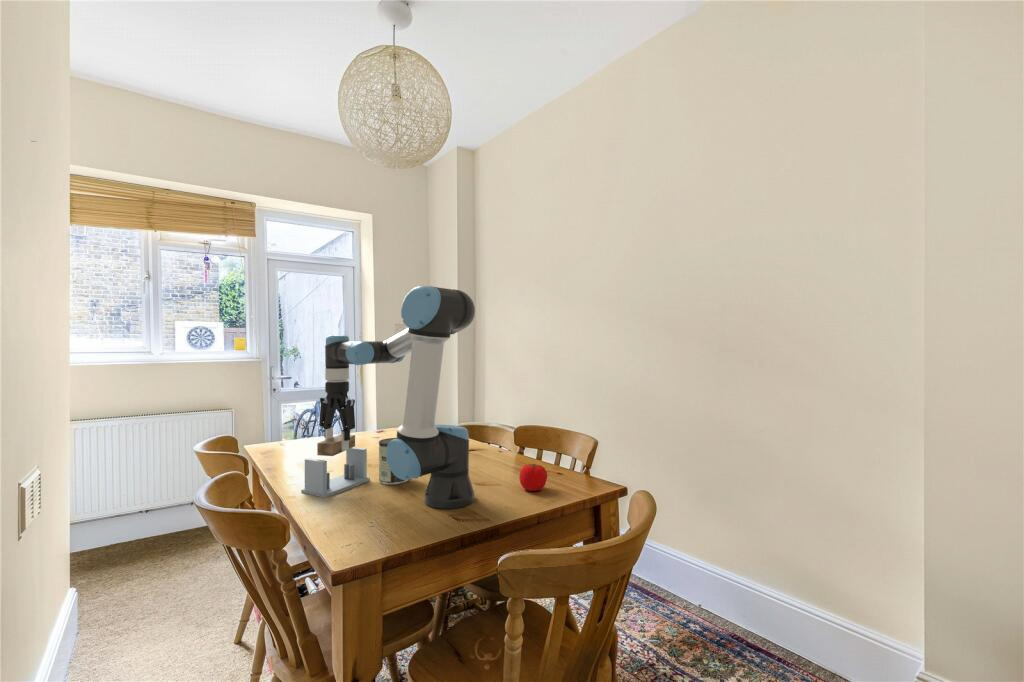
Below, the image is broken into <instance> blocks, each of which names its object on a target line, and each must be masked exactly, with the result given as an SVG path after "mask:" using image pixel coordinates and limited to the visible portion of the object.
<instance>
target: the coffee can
mask: <svg viewBox="0 0 1024 682" xmlns="http://www.w3.org/2000/svg"><path fill="white" fill-rule="evenodd" d="M393 439H396V437H389V438H384V439H381V440H379V441H378V448H379V449H378V450H379V451H378V454H379V455H378V463H379V464H378V466H379V468H378V469H379V470H378V471H379V474H378V478H379V479H378V482H379V483H380V484H381V485H387V486H388V485H389V486H390V485H391V486H392V485H393V486H395V485H401V484H404V483H406V482H408V481H409V480H402V479H399V478H398V477H396V476H395V475H394V474H393V473H392V471H391V469H390V467H389V466H388V463H387V459H386V448H387V445H388V443H390V441H392V440H393Z"/></svg>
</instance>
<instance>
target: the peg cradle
mask: <svg viewBox="0 0 1024 682" xmlns="http://www.w3.org/2000/svg"><path fill="white" fill-rule="evenodd" d="M345 454H346V455H345V456H346V457H345V459H346V462H345V463H344V465H343V473H344V474H342V475H339V476H337V477H333V478H331V479H330V472H328V469H327V468H328V461H327V460H324V459H317V458H312V457H311V458H310V457H308V458H305V459H304V488H302V489H300V490H301V491H300V493H301V494H307V495H311V496H317V497H322V498H329V497H332V496H333V495H336V494H339V493H341V492H344V491H347V490H349V489H352V488H354V487H357V486H360V485H361V484H362V485H363V484H364V483H367V482H369V481H371V477H370V476H369V477H368V475H367V474H368V470H367V469H368V466H367V463H368V449H367V448H363V447H356V446H355V447H352V448H350V449H348V450H346V451H345Z"/></svg>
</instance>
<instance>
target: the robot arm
mask: <svg viewBox="0 0 1024 682" xmlns="http://www.w3.org/2000/svg"><path fill="white" fill-rule="evenodd" d="M475 314H476V306H475V303H474V301H473V299H472V298H471V296H470V295H468V294H467V293H466V292H465V291H463V290H459V289H451V288H447V287H446V288H445V287H438V286H432V285H430V286H428V285H420V286H416V287H413V288H412V289H411V290H410V291H409V292H407V293H406V295H405V296H404V299H403V301H402V303H401V308H400V315H401V316H400V317H401V319H402V322H403V324H404V325H405V326H406V327H407V328H405V329H404V330H401V331H400V332H398V333H396V334H395V335H393V336H391V337H389V338H387V339H385V340H382V341H381V340H380V341H378V340H377V341H375V340H374V341H373V340H372V341H368V340H367V341H363V340H360V341H359V340H352V341H351V340H350V338H349V336H348V335H342V334H341V335H339V334H338V335H335V334H334V335H331V334H330V335H327V336H326V337H325V346H324V350H325V351H324V352H325V353H324V354H325V356H324V358H325V359H324V360H325V365H324V366H325V369H324V370H325V371H324V372H325V374H324V378H325V379H324V380H325V383H324V384H325V385H324V387H325V388H324V390H325V393H326V396H325V397H320V398H319V403H320V410H319V412H320V413H319V421H318V422H319V424H318V425H319V427H322V428H323V430H324V431H323V432H324V433H323V434H324V436H323V437H324V440H327V439H330V438H332V437H334V428H333V427H334V426H333V421H334V417H335V414H336V411H337V412H338V414H339V419H340V423H341V427H342V430H341V431H340V435H341V451H343V452H346V451H345V450H348V449H349V440H350V435H351V431H352V430H354V429H355V428H356V419H355V415H356V414H355V404H356V400H355V399H354V398H352V399H351V398H349V397H348V393H349V392H350V382H349V379H350V365H355V366H363V365H370V364H371V365H372V364H394V363H395V364H396V363H400V362H402V361H403V360H404V358H405V357H406V355H408V354H410V362H409V371H408V382H407V387H406V399H405V406H404V407H405V408H404V417H403V423H402V424H400V425H399V426H398V427H397V429H396V437H395V438H396V439H393V440H392V441H390V443H388V445H387V448H386V459H387V463H388V466H389V467H390V469H391V471H392V473H393V474H394V475H395V476H396V477H398V478H399V479H402V480H408V481H410V480H413V479H414V480H415V479H419V478H420V477H424V476H426V475H429V474H430V477H429V481H428V483H427V487H426V490H425V492H424V504H425V505H427V506H429V507H432V508H434V509H441V510H442V509H444V510H445V509H447V510H449V509H458V508H464V507H466V506H468V505H471V504H472V503H473V502H474V501H475V491H474V488H473V484H472V481H471V477H470V474H469V473H470V472H469V470H470V469H469V464H470V460H469V459H470V437H469V430H468V429H467V428H466V427H464V426H460V425H452V424H436V423H435V421H436V414H437V405H438V396H439V387H440V379H441V371H442V369H441V368H442V362H443V354H444V346H445V343H446V342H447V341H448V340H450V339H451V335H454V334H456V333H459V332H461V331H463V330H465V329H466V328H467V327H469V326H470V325H471V324H472V322H473V321H474V318H475V316H476V315H475Z"/></svg>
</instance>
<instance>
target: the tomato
mask: <svg viewBox="0 0 1024 682" xmlns="http://www.w3.org/2000/svg"><path fill="white" fill-rule="evenodd" d="M518 479H519V482H520V485H521V487H522V488H523V489H525V490H526V491H529V492H530V491H531V492H537V491H540V490H543V488H545V486H546V482H547V479H548V473H547V470H546V468H545V467H544V466H542V465H540V464H536V463H531V464H530V463H527V464H525V465H523V466H522V467H521V469H520V471H519V478H518Z"/></svg>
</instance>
